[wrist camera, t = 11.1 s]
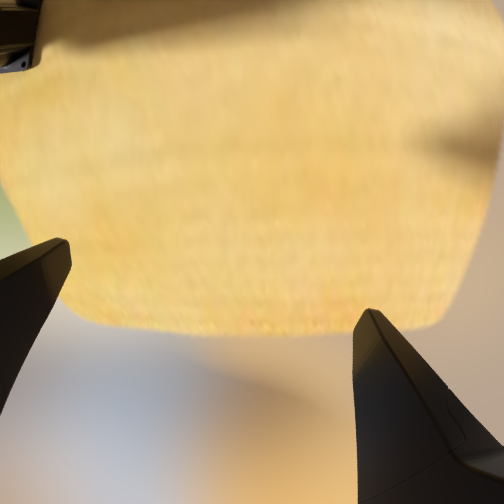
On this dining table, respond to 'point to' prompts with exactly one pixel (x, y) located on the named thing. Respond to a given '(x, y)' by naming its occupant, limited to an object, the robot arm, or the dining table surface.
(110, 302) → the dining table surface
